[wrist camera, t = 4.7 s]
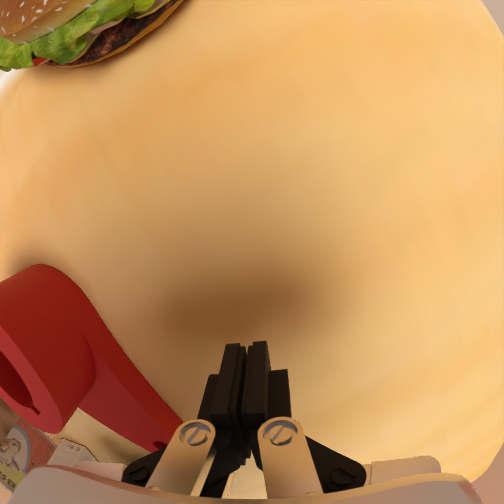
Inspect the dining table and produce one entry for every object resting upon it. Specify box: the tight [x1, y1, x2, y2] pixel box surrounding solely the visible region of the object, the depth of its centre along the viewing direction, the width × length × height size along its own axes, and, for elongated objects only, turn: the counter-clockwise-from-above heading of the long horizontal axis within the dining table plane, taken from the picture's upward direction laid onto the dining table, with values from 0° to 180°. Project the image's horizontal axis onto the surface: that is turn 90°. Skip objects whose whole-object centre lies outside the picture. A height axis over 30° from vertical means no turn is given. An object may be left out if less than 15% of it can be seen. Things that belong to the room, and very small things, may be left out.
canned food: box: [0, 417, 57, 494], centre depth 17 cm, size 11×11×12 cm
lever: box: [0, 264, 184, 453], centre depth 13 cm, size 18×9×7 cm, turn 41°
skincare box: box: [47, 439, 98, 467], centre depth 16 cm, size 6×4×12 cm
